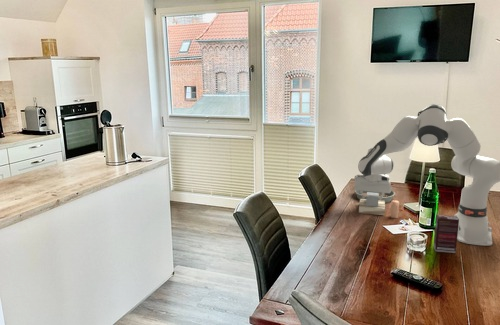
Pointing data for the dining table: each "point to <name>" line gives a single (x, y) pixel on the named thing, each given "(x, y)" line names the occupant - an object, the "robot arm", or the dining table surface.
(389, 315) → the dining table surface
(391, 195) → the cake pan
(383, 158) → the robot arm
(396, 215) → the peg
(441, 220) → the supplement box
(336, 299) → the dining table surface
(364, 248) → the dining table surface
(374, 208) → the socket board
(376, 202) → the grey rectangular block
